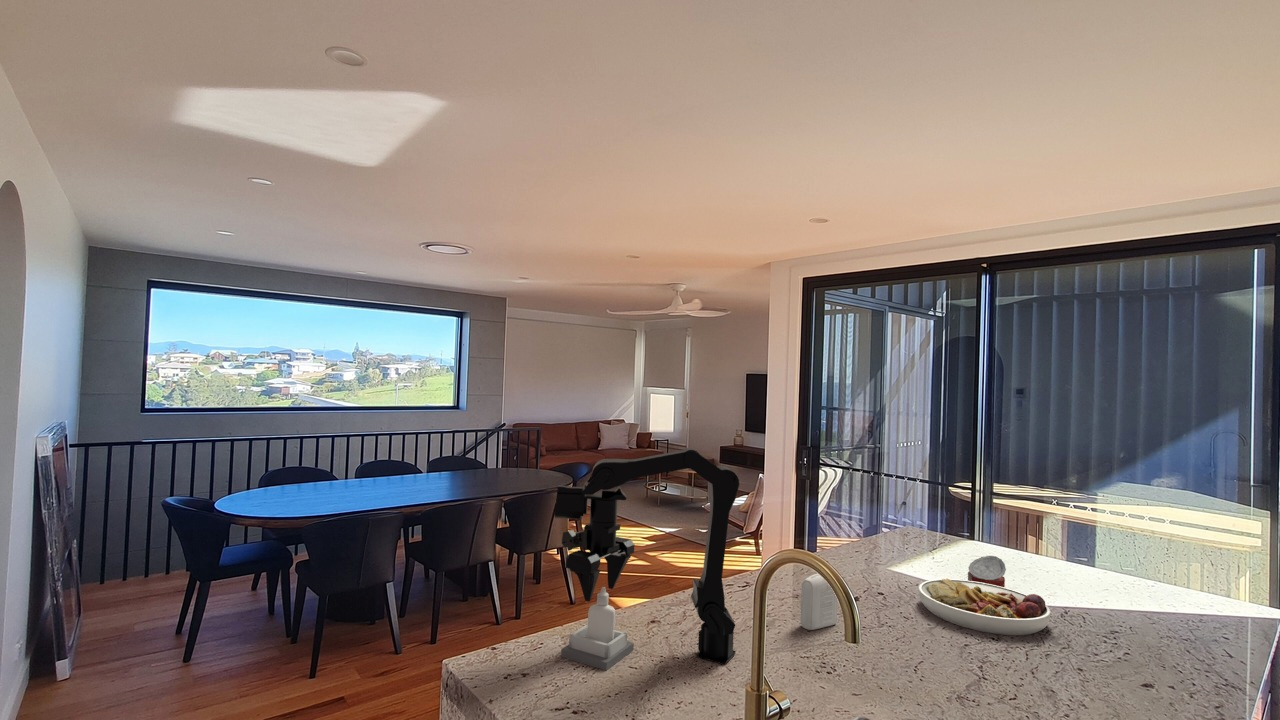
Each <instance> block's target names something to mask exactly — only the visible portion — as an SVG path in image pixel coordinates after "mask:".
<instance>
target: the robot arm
mask: <svg viewBox="0 0 1280 720" xmlns="http://www.w3.org/2000/svg"><path fill="white" fill-rule="evenodd" d="M687 469H690V470H692V471H693V472H695V473H696V474H697V475H699V476H700V477H702V478H703V480H705V481H707V495H708V501H709V502H708V503H709V516H708V523H707V525H708V526H707V535H706V542H705V550H704V551H705V552H704V558H703V560H704V561H703V567H702V568H703V569H702V572H701V575H700V578H699V579H696V578H693V579H692V586H693V587H692V588H693V589H692V592H691V595H690V598H691V601H692V603H693V606H694V608H695V609H696V613H697V616H698V617H699V619H700V620H701V621H702V622H703V623H702V624H701V625H700V630H699V631H698V642H697V643H698V645H697V650H698V651H699V652H698V653H697V655H696V657H697V658H700V659H704V660H706V661H710V662H714V663H718V664H722V665H726V664H728V663H729V661H731V659H732V658H733V657H734V656H735V655H736V651H737V650H736V651H735V650H734V635H735V634H734V630H735V628H736V623H735V621H734V620H733V618H732V615H731V614H730V612H729V610H728V608H727V607H726V605H725V594H724V593H725V592H724V584H723V573H724V572H723V570H724V562H725V555H726V547H727V545H726V544H727V536H728V528H729V527H728V525H729V521H730V520H729V518H730V512H731V509H732V507H733V506H734V504H735V502H736V498H737V494H738V491H739V487H740V479H739V476H738V475H737V474H736V473H735V472H734V471H732V470H731V469H730V468H729V467H727V466H726V465H725V466H724V465H716V464H715V463H713V462H711V461H710V460H709V459H707V458H705V457H704V456H703V455H701V454H700V453H699V452H698V451H697V450H696V449H695V448H692V447H687V448H685V449H682V450H676V451H672V452H666V453H661V454H656V455H655V454H654V455H649V456H645V457H639V458H632V459H631V458H629V459H628V458H626V459H625V458H603V459H600V460H598V461H597V462H595V464H594V466H593V468H592V471H591V476H590V477H589V478H588V480H587V481H585V482H584V484H583V486H568V485H562V484H558V486H557V491H556V499H555V502H554V516H553V517H554V519H562V520H563V519H567V520H582V517H584V516H585V515H588V514H587V513H588V500H590V507H589V523H587V524H585V525H584V527H583V530H580V531H576V532H575V530H574V529H571V530H567V531H564V532H562V536H561V537H562V538H561V545H562V547H564V548H566V549H567V551H572V550H573V549H577V548H581V550H580V549H578V550H576V551H573V552H571V553H568V555H567V556H566V557H565V563H564V566H565V567H564V568H565V569H569V571H571V572H573V573H574V574H575V575H576V576H577V578H578V580H579V584H580V587H581V591H582V594H583V599H584V601H586V602H590V601H591V600H592V597H593V594H594V591H595V588H596V585H597V582H598V579H599V575H600V572H601V569H599V567H600V565H601V559H603V558H604V560H605V561H606V564H607V565H606V569H607V570H606V572H607V575H606V576H607V587H608V590H609V589H610V590H613V589H615V586H616V585H617V582H618V580H619V578H620V576H621V575H622V572H623V571H624V569H625V566H626V565H627V563H628V562H629V560H630V559H631V558H632V555H633V554H634V553H635V543H634V542H633V540H632V539H630V538H626V537H625V538H624V537H619V536H617V531H620V530H621V524H617V522H618V521H617V520H618V505H619V503H618V501H626V500H627V495H626V493H625V492H624V491H623V490H622V488H621V487H620V486H622V485H624V484H627V483H629V482H630V481H633V480H636V479H638V478H644V477H650V476H655V475H660V474H664V473H671V472H677V471H683V470H687ZM616 487H617V488H616ZM613 488H614V489H615V488H616V489H615V490H611V489H613ZM599 491H601V493H598V492H599Z"/></svg>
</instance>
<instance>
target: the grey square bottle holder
mask: <svg viewBox="0 0 1280 720" xmlns="http://www.w3.org/2000/svg"><path fill="white" fill-rule="evenodd" d="M587 626H588V623H586V625H584V626H582V627H581V628H579V629H577V630H574V632H572V633H569V636H568V638H569V639H568V644H567V645H566V646H564V647H563V648H561V649H560V650H561V651H560V657H562V658H563V659H566V660H567V659H568V660H571V661H574V662H577V663H580V664H584V665H587V666H591V667H593V668H597V669H600V670H604V671H608V670H609V669H610V668H612V667H613V666H614V665H616V664H617V663H619V662H620V661H622V660H623V659H624V658H625V657H626V656H628V655H629V654H630V653H632V652H634V648H635V647H634V642H630V641H628V632H624V631H621V630H616V629H614V640H612V641H611V642H609V643H608V644H607V643H603V642H600V641H596V640H593V639H589V638H587Z"/></svg>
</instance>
